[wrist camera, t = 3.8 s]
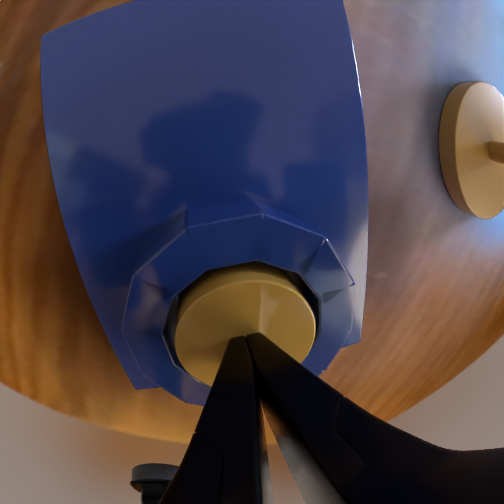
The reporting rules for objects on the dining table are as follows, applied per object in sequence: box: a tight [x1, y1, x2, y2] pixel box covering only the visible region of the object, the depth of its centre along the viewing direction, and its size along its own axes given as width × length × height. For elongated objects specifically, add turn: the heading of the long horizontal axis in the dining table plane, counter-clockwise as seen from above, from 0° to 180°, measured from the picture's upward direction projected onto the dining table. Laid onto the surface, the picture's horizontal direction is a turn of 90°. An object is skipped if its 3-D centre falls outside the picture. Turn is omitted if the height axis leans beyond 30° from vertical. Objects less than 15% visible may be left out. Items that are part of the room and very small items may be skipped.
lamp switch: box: [174, 261, 316, 387], centre depth 8 cm, size 4×4×2 cm
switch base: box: [40, 0, 369, 406], centre depth 8 cm, size 14×10×4 cm
